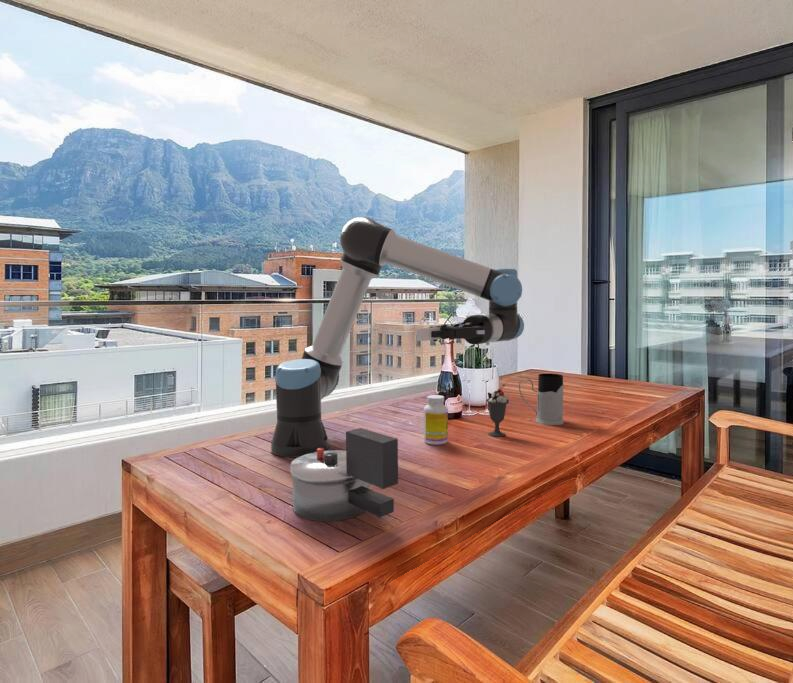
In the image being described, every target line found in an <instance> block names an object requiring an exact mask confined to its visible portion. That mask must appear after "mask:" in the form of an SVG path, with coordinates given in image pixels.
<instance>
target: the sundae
mask: <svg viewBox="0 0 793 683" xmlns="http://www.w3.org/2000/svg"><path fill="white" fill-rule="evenodd" d="M504 387H506V385H505V384H503V385H502V386H501V387H499V388H498V389H497V390H495V391H493V392H492V393H491V392H487V397H488V398H486V400H485V401H486V402H487V405H488V406H487V407H488V412H489V413H488V415H489V419H490V420H491V421H492V422H493V423H494V430H493V431H490V432H488V435H489V436H490V437H493V438H494V437H495V438H501V437H502V438H503V437H505V436H506V433H505V432H502V431H501V430H500V423H502V422H503V420H504V419H505V416H506V409H507V404H509V402H510V400H509V399H508V398H507V397H506V396H505V392H503V389H504Z"/></svg>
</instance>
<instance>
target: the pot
mask: <svg viewBox="0 0 793 683" xmlns="http://www.w3.org/2000/svg"><path fill="white" fill-rule="evenodd" d="M291 478H292V479H291V482H292V484H291V485H292V510H293V512H294V513H295V514H296V515H297V516H299V517H300V518H302V519H306V520H310V521H313V522H340V521H344V520H345V521H346V520H348V519H349V520H350V519H352V518H355V517H358V516H360V515H362V514H363V513H365V512H368V513H370V514H372V515H373V516H377V517H379V518H382V517H385V516H388V515H390V514H393V513H394V512H395V504H394V502H395V501H394V500H395V499H394V498H393V497H390V496H388V495H386V494H384V493H380V492H378V491H376V490H373V489H371V488H370V484H369V483H367V482H364V481H362V480H359V479H354V480H351V481H346V482H340V483H327V484H322V483H310V482H305V481H301V480H298V479H296V478H294V477H293V476H292V475H291Z"/></svg>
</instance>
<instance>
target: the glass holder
mask: <svg viewBox="0 0 793 683" xmlns="http://www.w3.org/2000/svg"><path fill="white" fill-rule="evenodd" d="M537 379H538V382H537V383H538V384H537V385H538V386H537V387H538V389H537V390H536V389H535V390H534V384H533V383H534V382H533V380H531V379H530V378H527V377H524V378H521V379H520V381H519V384H518V390H519V391H518V392H519V394H520V397H521V399H522V401H523V402H524V403H525V404H526V405H527V406H528V407H530V408H531V409H532V411H534V412H535V415H536V419H535V423H537V424H540V425H545V426H546V425H547V426H561V425H563V424H564V423H565V421H564V418H563V415H564V375H563V374H559V373H539V374H538V378H537ZM523 380H528V381H529V382H530V383H531V390H532V392H535V393H537V397H536V398H537V407H536V408H537V409H535V408H534V407H533V406H532V405H531V404H529V403H528V401H526V399H525V397H523V394H522V391H521V382H522V381H523Z"/></svg>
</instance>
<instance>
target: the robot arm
mask: <svg viewBox="0 0 793 683" xmlns="http://www.w3.org/2000/svg"><path fill="white" fill-rule="evenodd" d="M339 238H340V245H341V248H342V254H341V256H340V259H339V261H340V264H341V266H342V268H341V271H340V273H339V277H338V279H337V281H336V284H335V287H334V288H333V289H334V290H333V291H332V295H331V297H330V299H329V302H328V305H327V307H326V310H325V312H324V315H323V317H322V320H321V322H320V326H319V328H318V329H317V333H316V335H315V337H314V340H313V342H312V345H310V346H307V347H305V348H304V351H303V353H302V356H301V358H298V359H295V358H294V359H292V360H286V361H284V362H282V363H281V362H280V363H279V365H277V367H276V370H275V378H274V381H275V382H274V383H275V395H276V397H275V398H276V399H275V400H276V402H275V403H276V426H275V428H274V431H273V434H272V439H271V443H270V448H271V449H270V450H271V453H272V452H273V454H274V455H276V456H279V457H284V458H287V457H288V458H298V457H300V456H303V455H306V454H310V453H314V452H317V448H324V451H328V449H329V445H330V444H329V436H328V435H327V430H326V428H325V426H324V423H323V421H322V400H323V399H324V398H327V397H329V395H331V393H333V392H334V390H335V389H336V388H337V386H338V384H339V381H340V371H341V368H342V366H343V364H344V362H343V359H342V356H341V354H342V353H343V350H344V348H345V346H346V345H345V344H346V343H347V339H348V337H349V334H350V333H351V330H352V327H353V324H354V322H355V320H356V317H357V315H358V313H359V311H360V309H361V305H362V302H363V301H364V298H365V295H366V293H367V290H368V288H369V285H370V282H371V281H372V280H373V279H375V278H377V277H379V275H380V274H381V273H380V272H381V270H382V267H383V266H385V265H389V266H392V267H394V268H397V269H400V270H402V271H403V270H404V271H406V272H408V273H412V274H415V275H417V276H420V277H423V278H426V279H428V280H431V281H434V282H436V283H437V282H438V283H440V284H443V285H446V286H448V287H451V288H454V289H457V290H459V291H462V292H465V293H468V294H471V295H474V296H476V297H479V298H481V299H483V300H487V301H488V313H483V314H471V315H468V316H466V317H465V318H464V320H463V321H462V322H457V323H451V324H450V325H449V324H447V323H444V324H441V325H435V326H434V325H433V326H431V325H430V326H429V327H423V328H416V342H428V341H433V342H438V341H439V340H441V339H442V340H446V339H449V340H457V339H463V340H465V342H466V343H469V345H481V344H485V345H486V346H489V345H490V343H496V342H498V343H499V342H504V341H505V342H509V341H511V340H515V339H517V338H519V337H520V336H522V334H523V332H524V330H525V322H524V320H523V317H522V315H520V314H518V301H520V298H522V294H523V285H522V283H521V280H520V279H519V278H518V271H517V269H515V268H491V267H489V266H485V265H482V264H479V263H476V262H474V261H472V260H469V259H465V258H463V257H461V256H457V255H455V254H452V253H449V252H447V251H443V250H440V249H437V248H435V247H431V246H429V245H426V244H422V243H420V242H417V241H414V240H411V239H409V238H406V237H403V236H401V235H397V233H396V231H395V229H394V228H393V229H392V228H390V227H387V226H384V225H382V224H381V223H380V222H377V221H376V220H374V219H373V218H370V217H367V216H357V217H353V218H352V219H350V220H349V221H347V222H346V223H345V224H344V226H343V227H342V230H341V231H340V236H339Z"/></svg>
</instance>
